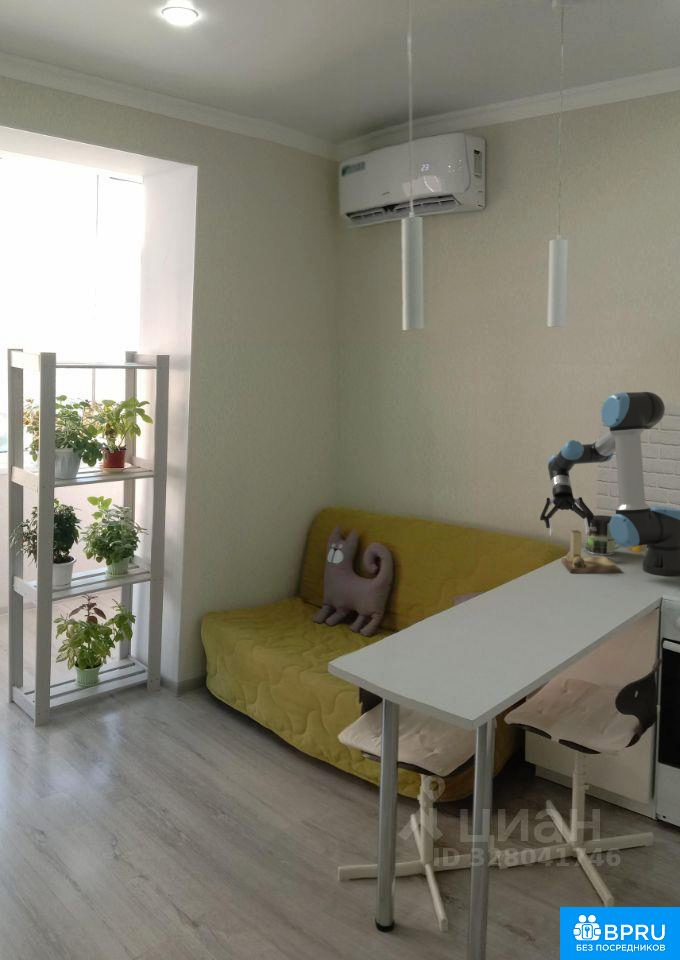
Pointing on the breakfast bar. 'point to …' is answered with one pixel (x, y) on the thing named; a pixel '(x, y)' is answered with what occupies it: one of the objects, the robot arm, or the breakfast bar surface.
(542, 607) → the breakfast bar surface
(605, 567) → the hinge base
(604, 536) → the coffee can
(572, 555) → the beige rectangular block
